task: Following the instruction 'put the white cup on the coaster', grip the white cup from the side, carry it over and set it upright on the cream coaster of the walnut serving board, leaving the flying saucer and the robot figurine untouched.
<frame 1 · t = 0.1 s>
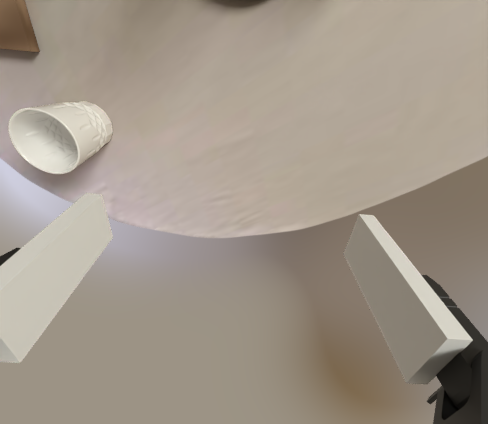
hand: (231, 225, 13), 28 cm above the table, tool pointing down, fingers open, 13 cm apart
white cup: (91, 124, 38), on the table
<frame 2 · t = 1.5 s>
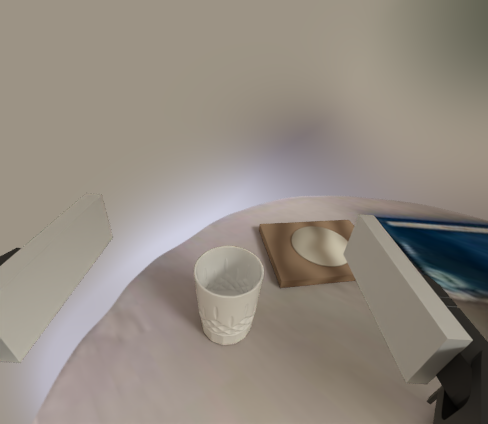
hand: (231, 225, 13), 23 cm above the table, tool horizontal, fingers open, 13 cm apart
white cup: (226, 321, 33), on the table
walnut board: (319, 251, 46), on the table
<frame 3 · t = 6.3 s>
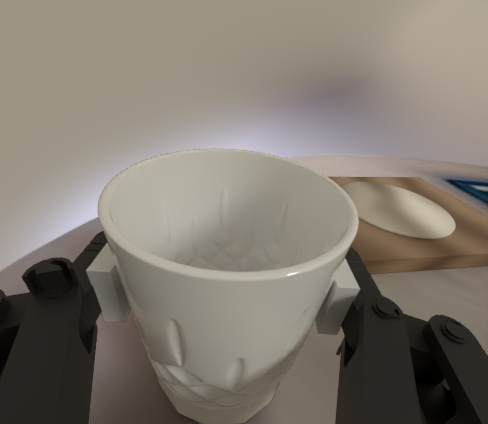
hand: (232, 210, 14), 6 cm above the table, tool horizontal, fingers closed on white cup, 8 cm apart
white cup: (222, 352, 14), on the table, touching gripper
walnut board: (386, 218, 27), on the table
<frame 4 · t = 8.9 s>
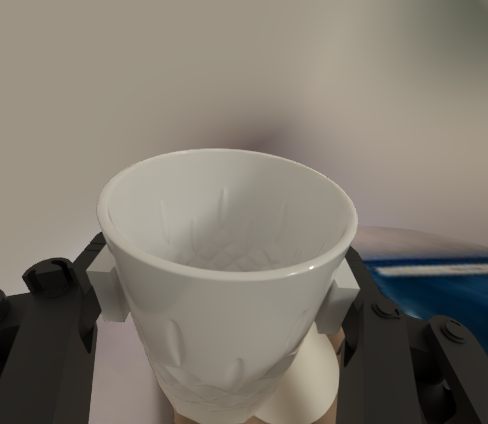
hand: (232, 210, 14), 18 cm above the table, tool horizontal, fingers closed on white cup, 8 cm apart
white cup: (221, 352, 14), point 11 cm above the table, touching gripper
walnut board: (276, 362, 24), on the table
when the fingers open (9 cm above the table, at t = 11.6 s): white cup drops 1 cm, resting on walnut board.
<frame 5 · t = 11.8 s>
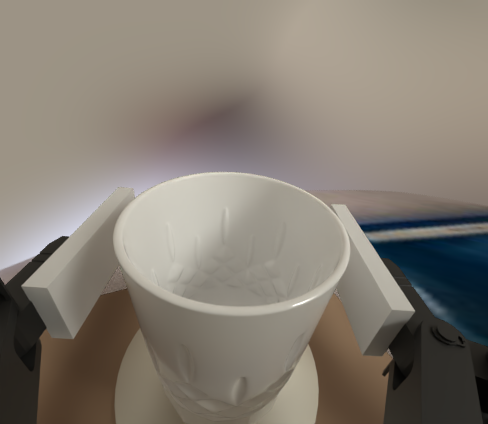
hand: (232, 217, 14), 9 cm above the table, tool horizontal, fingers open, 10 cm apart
white cup: (224, 362, 14), point 2 cm above the table, touching walnut board
walnut board: (220, 376, 15), on the table
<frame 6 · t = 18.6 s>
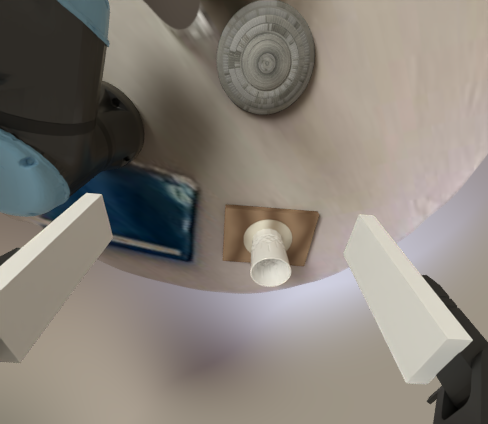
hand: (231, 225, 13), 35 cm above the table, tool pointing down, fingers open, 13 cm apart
white cup: (267, 239, 56), point 2 cm above the table, touching walnut board
walnut board: (267, 235, 57), on the table
flying saucer: (264, 62, 39), on the table
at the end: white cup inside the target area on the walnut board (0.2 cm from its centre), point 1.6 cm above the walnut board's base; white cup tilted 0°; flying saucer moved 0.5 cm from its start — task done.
